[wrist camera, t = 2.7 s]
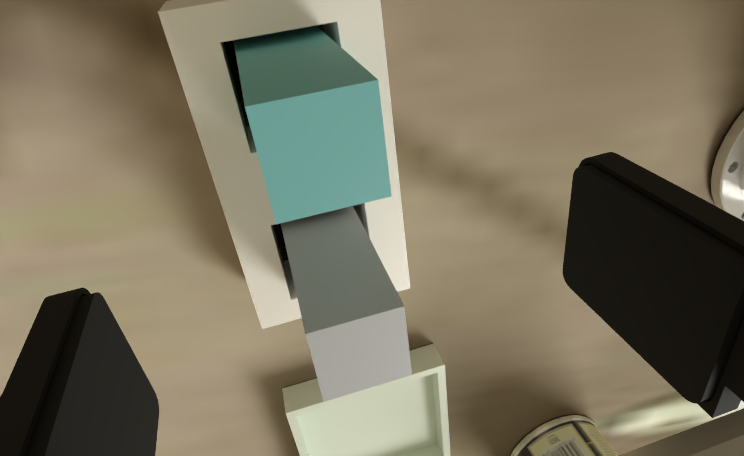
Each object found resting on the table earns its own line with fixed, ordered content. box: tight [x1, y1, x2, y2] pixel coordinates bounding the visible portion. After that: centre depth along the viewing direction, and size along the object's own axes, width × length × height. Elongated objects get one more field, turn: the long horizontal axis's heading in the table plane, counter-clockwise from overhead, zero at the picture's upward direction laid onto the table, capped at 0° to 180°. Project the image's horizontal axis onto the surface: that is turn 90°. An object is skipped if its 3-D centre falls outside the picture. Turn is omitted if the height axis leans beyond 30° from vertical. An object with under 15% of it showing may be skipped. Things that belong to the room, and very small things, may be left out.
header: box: [158, 0, 410, 329], centre depth 26 cm, size 17×9×4 cm, turn 7°
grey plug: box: [281, 206, 412, 402], centre depth 25 cm, size 4×4×12 cm
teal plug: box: [233, 25, 392, 224], centre depth 20 cm, size 4×4×12 cm
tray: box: [282, 344, 451, 456], centre depth 40 cm, size 12×12×2 cm
